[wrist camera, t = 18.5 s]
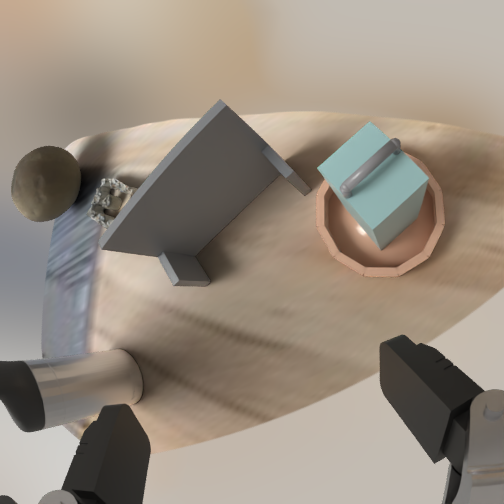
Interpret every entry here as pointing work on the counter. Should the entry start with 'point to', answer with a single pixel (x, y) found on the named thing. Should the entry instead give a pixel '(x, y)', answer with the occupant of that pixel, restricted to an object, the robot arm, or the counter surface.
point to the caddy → (376, 183)
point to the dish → (361, 245)
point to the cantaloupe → (45, 183)
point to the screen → (197, 194)
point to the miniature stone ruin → (107, 201)
